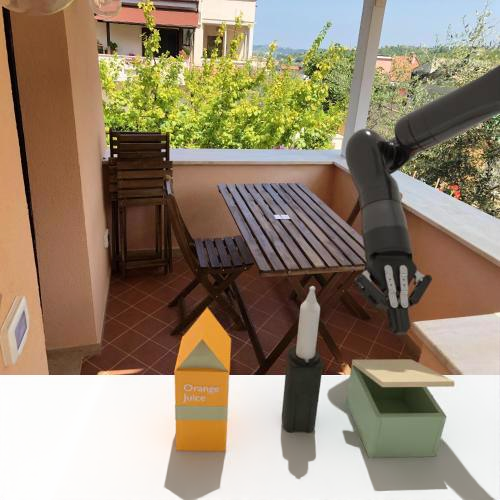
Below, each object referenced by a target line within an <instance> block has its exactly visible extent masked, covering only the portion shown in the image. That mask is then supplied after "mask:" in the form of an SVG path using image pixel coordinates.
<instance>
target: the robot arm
mask: <svg viewBox="0 0 500 500" xmlns="http://www.w3.org/2000/svg"><path fill="white" fill-rule="evenodd" d="M497 115H500V64H499V65H497V66H495V67H494V68H492V69H490V70H488V71H487V72H485V73H483V74H482V75H480V76H478V77H477V78H475V79H473V80H471V81H469V82H467V83H465V84H463V85H461V86H459V87H457V88H455V89H453V90H451V91H448V92H446V93H445V94H443V95H441V96H438V97H437V98H435V99H433V100H431V101H429V102H426V103H425V104H423V105H422V106H419V107H417V108H415V109H414V110H412V111H410V112H408V113H406V114H405V115H403V116H401V117H400V118H399V119H397V120H396V122H395V124H394V127H393V132H394V136H393V137H392V138H390V139H387V138H386V137H384V136H383V135H382V134H380V133H379V132H377V131H376V130H374V129H371V128H361V129H358V130H356V131H355V132H354V133H352V134H351V136H350V137H349V138H348V140H347V142H346V146H345V161H346V166H347V168H348V171H349V174H350V176H351V179H352V183H353V184H354V186H355V189H356V190H357V194H358V201H359V202H358V203H359V209H360V210H359V211H360V226H361V227H360V228H361V229H360V232H361V233H360V234H361V236H362V243H363V251H364V257H365V262H366V264H365V266H364V268H363V269H364V271H363V272H362V273H359V274H358V275H357V276H356V277H355V278H354V279H353V283H352V284H354V286H355V287H356V288H357V289H358V290H359V291H360V292H361V293H362V294H363V296H364V297H365V298H366V299H367V300H368V301H369V302H370V303H371V304H372V305H373V306H374V307H375V308H376V309H379V308H380V309H382V310H385V312H386V317H387V323H388V328H389V330H390V331H391V332H392V334H393V335H397V336H399V335H400V336H401V335H402V336H403V335H405V334H408V332H409V330H410V328H411V321H410V316H409V309H411V308H413V307H414V306H416V305H417V304H419V302H420V300H421V299H422V297H423V296H424V294H425V292H426V291H427V289H428V287H429V286H430V284H431V283H432V281H433V277H432V275H431V274H423V273H422V272H421V271H419V270H418V267H417V264H416V263H415V262H414V259H413V250H412V249H413V248H412V244H411V239H410V232H409V227H408V221H407V218H406V213H405V211H404V208H403V204H402V198H401V197H402V196H401V192H400V188H399V184H398V182H397V180H396V179H395V178H394V177H393V176H392V174H394V173H395V172H397V171H399V170H400V169H401V168H403V167H404V166H405V165H407V164H408V163H409V162H411V161H412V160H413V159H415V157H417V156H418V155H419V154H421V153H422V152H425V151H427V150H429V149H431V148H432V149H433V148H434V147H437V146H438V145H441V144H443V143H445V142H447V141H449V140H452V139H454V138H456V137H457V136H459V135H461V134H463V133H465V132H467V131H469V130H471V129H472V128H474V127H476V126H478V125H480V124H481V123H483V122H486V121H487V120H489V119H491V118H493V117H495V116H497ZM412 280H413V282H412ZM411 283H413V286H414V288H413V289H412V290H411V293H410V294H409V286H410V284H411ZM408 295H409V296H408Z"/></svg>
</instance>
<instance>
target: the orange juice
mask: <svg viewBox="0 0 500 500" xmlns="http://www.w3.org/2000/svg"><path fill="white" fill-rule="evenodd" d="M231 350H232V338H231V337H230V335H229V333H228V332H227V331H226V330H225V329H224V327H223V326H222V325H221V324H220V322H219V321H218V319H217V318H216V317H215V315H214V314H213V312H211V310H210V309H209V307H208V306H206V308H205V309H204V311H203V312H202V313H200V315H199V317H198V318H197V319H196V321H194V323H193V324H192V325H191V327H190V328H189V329H188V330H187V331H186V332H185V334H184V335H183V336H182V337H181V341H180V345H179V350H178V354H177V358H176V363H175V368H174V371H173V372H174V420H175V449H176V451H180V452H181V451H185V452H227V439H228V438H227V435H228V413H229V388H230V373H231V352H232V351H231Z"/></svg>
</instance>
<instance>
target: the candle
mask: <svg viewBox="0 0 500 500" xmlns="http://www.w3.org/2000/svg"><path fill="white" fill-rule="evenodd" d="M315 291H316V286H313V285H311V286H310V287H309V292H308V293H307V296H306V298H305V300H304V301H302V303H301V304H300V309H299V317H298V327H297V328H298V329H297V339H296V345H294V346H293V347H291V348H289V349H288V350H287V354H286V363H285V364H286V365H285V366H286V367H285V375H284V385H283V387H284V388H283V398H282V407H281V408H282V411H281V419H282V424H283V425H282V427H283V429H284V430H285V432H287V433H290V434H291V433H308V434H309V433H310V434H311V433H313V432H315V429H316V423H317V422H316V421H317V415H318V406H319V397H320V396H319V395H320V390H321V383H322V376H323V375H322V374H323V367H324V363H323V359H322V357H321V353H320V351H319V350H318V349H317V348H316V347H317V339H318V332H319V322H320V315H321V306H320V304H319V302H318V301H317V296H316V292H315Z"/></svg>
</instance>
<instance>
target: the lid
mask: <svg viewBox="0 0 500 500" xmlns="http://www.w3.org/2000/svg"><path fill="white" fill-rule="evenodd" d="M352 364H353V365H354V366H355V367H357V368H358V369H359V370H361V371H362V372H363V373H364V374H366V375H367V376H368V377H370V378H371V379H372V380H374V381H375V382H376V383H378V384H379V385H380V386H382V387H427V388H436V387H437V388H439V387H440V388H443V387H445V388H446V387H447V388H448V387H450V388H451V387H452V388H453V387H455V381H454V380H453V379H451V378H449V377H447V376H445V375H443V374H441V373H439V372H437V371H435V370H433V369H431V368H429V367H427V366H425V365H423V364H421V363H419V362H417V361H415V360H413V359H407V358H406V359H401V358H400V359H399V358H398V359H351V365H352Z"/></svg>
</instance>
